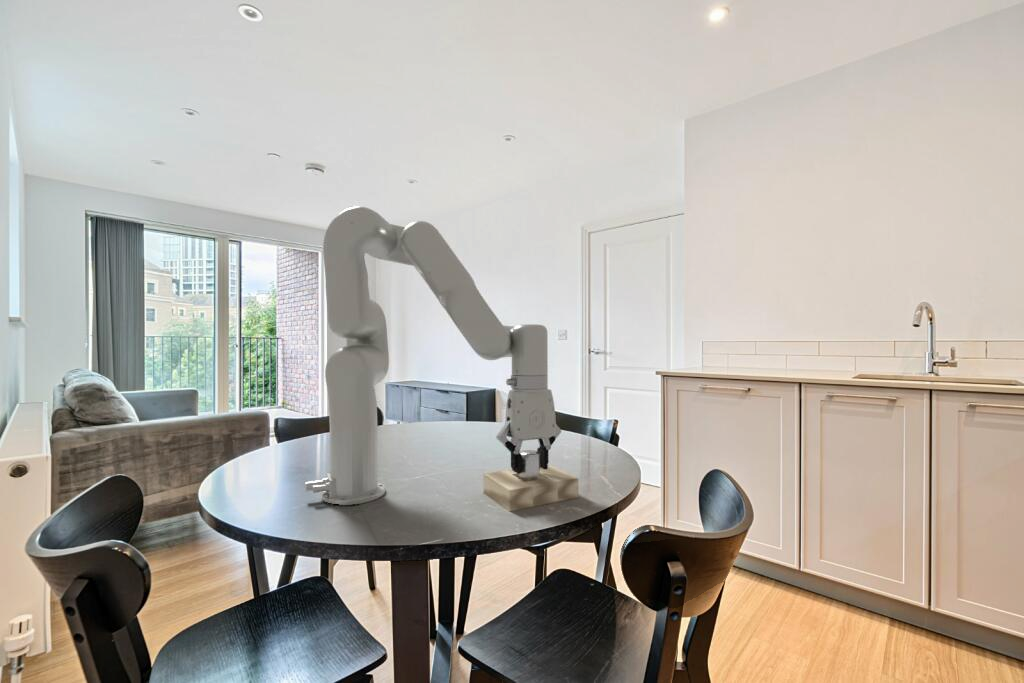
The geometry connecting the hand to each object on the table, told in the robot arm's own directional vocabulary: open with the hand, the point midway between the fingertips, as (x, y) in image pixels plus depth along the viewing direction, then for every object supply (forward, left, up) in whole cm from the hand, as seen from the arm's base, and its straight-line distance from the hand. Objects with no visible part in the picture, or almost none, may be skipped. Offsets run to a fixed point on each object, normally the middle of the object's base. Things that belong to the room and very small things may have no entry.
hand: (529, 469), depth 94 cm
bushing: (0, 0, -6) cm, 6 cm away
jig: (0, 0, -5) cm, 5 cm away
